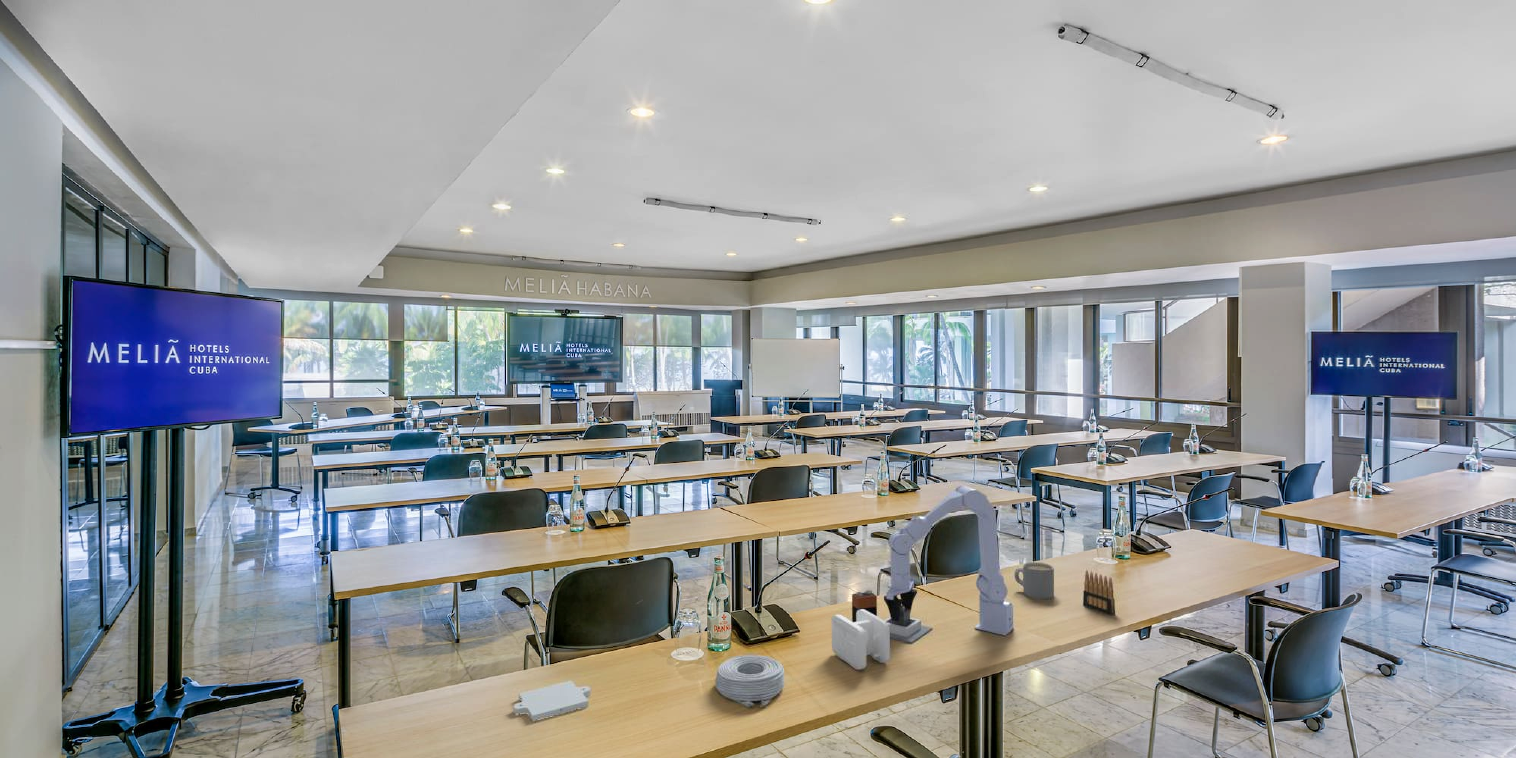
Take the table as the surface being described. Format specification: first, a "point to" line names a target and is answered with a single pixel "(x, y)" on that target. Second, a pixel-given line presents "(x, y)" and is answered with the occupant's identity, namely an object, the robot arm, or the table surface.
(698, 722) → the table surface
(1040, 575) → the coffee mug
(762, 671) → the cable
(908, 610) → the block
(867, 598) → the battery
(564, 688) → the mounting plate
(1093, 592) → the ammunition clip
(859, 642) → the cable organizer
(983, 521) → the robot arm
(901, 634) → the end holder
